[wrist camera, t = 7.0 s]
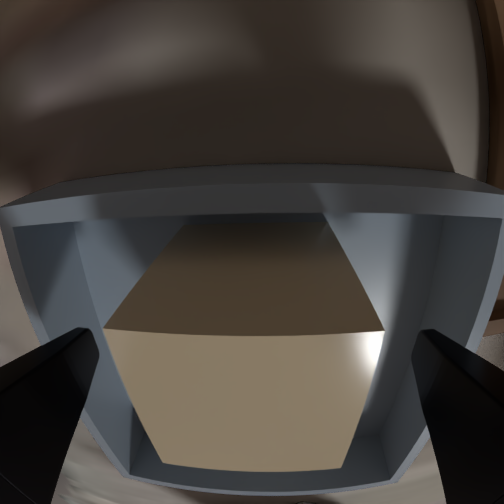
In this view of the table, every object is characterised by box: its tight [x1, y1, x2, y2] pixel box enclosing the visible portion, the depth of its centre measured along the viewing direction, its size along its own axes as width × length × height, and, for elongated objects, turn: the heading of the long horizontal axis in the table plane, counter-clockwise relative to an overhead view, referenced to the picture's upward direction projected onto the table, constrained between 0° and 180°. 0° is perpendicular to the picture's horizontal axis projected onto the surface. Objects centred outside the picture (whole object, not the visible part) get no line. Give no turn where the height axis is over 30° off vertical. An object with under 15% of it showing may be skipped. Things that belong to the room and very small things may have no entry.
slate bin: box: [0, 163, 504, 496], centre depth 10 cm, size 14×14×4 cm
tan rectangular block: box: [103, 222, 385, 472], centre depth 8 cm, size 4×4×6 cm
